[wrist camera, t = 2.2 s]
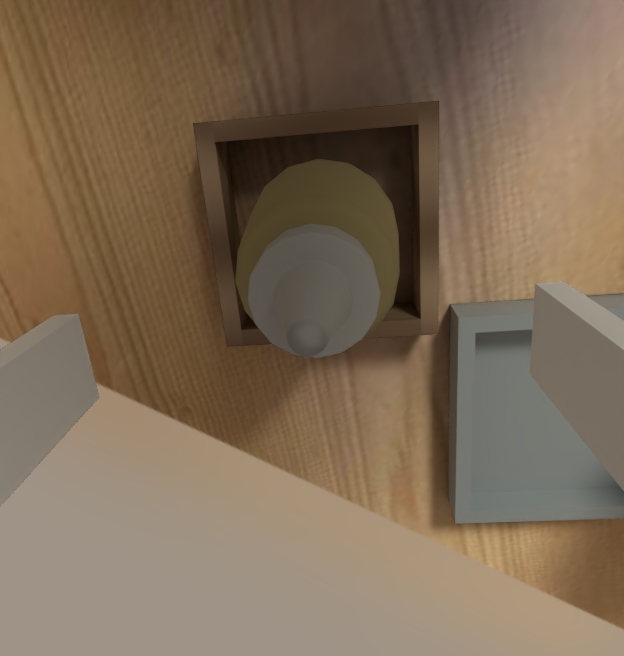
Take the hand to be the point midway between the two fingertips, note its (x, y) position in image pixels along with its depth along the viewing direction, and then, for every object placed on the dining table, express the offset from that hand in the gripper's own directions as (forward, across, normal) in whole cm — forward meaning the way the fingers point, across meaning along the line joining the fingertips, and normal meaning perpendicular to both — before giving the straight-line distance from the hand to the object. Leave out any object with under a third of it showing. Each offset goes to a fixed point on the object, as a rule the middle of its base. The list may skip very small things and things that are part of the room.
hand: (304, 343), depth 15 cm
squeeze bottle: (+18, 0, 0) cm, 18 cm away
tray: (+18, +15, -12) cm, 26 cm away
